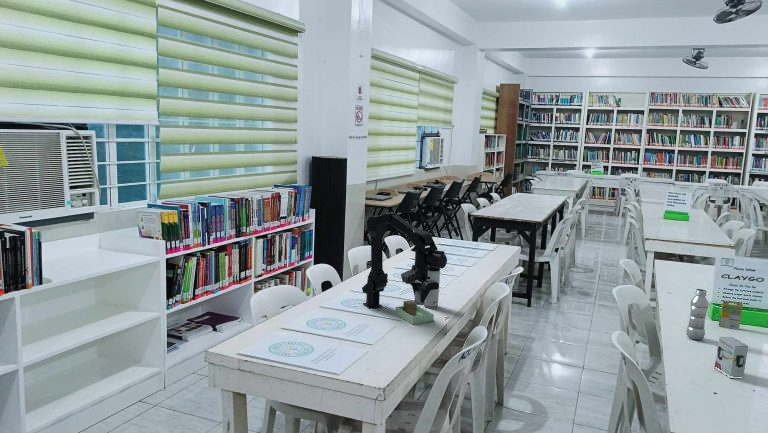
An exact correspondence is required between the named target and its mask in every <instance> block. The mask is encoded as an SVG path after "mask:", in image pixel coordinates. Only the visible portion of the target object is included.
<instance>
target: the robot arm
mask: <svg viewBox="0 0 768 433" xmlns="http://www.w3.org/2000/svg"><path fill="white" fill-rule="evenodd" d="M389 224H390V225H391V226H393V227H394V228H395V229H397V230H399V231H400V232H401V233H402V234H404V235H406V236H407V237H408V238H409V241H410V243H411V244H413V245H414V246H413V247H412V248H411V249H410V251H411V252H414V264H412V266H411V268H410V269H408V270H407V271H404V272H402V273H400V277H401V281H402V283H405V284H406V285H410V286H411V289H412V291H413V296H414V297H415V291H416V290H420V295H421V303H423V302H424V301H425V299H426V297H427V296H428V294H429V292H430V291H431V290H436V289H439V290H440V282H439V283H438V282H436V281H434V280H428V279H430V277H429V276H428V270H429V269H431V267H430V266H433V267H437V268H440V270H441V269H442V270H443V269H444V268H446V266H447V263H448V257H447V255H446V254H445V251H444V250H439V249H438V247H437V245H436V243H435V241H434V239H433V235H432V233H430V232H428V231H426V230H425V229H421V228H418V227H415V226H414V225H413V224H411V223H410V222H408V221H407V220H406V219H404V218H402V217H401V216H400V215H399V214H397V212H394V211H393V212H392V211H391V212H386V213H385V214H384V213H383V214H382V215H381V214H380V215H374V216H373V215H372V216H369V217H368V218H367V219H366V229H367V232H368V234H369V236H370V263H371V264H370V265H371V266H370V271H369V273H368V275H367V279H366V280H367V281H366V283H365V284H364V285H363V286H362V287H361V290H362V293H364V294H365V296H366V297H365V302H362V305H363V306H365V307H367V308H368V309H375V308H382V307H383V305H382V304H381V303H380V296H381V294H380V293H381V292H384V290H385V288H386V287H387V284H388V283H389V281H388V275H389V274H388V272H387V273H385V271H384V268H383V267H384V266H383V263H384V261H383V257H384V256H383V255H384V254H383V253H384V252H383V236H384V234H385V232H386V229H387V225H389ZM427 280H428V281H427Z"/></svg>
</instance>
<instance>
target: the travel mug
mask: <svg viewBox="0 0 768 433" xmlns="http://www.w3.org/2000/svg"><path fill="white" fill-rule="evenodd" d="M430 267H431V269H429V270H428V276H429V277H430V279H428V280H434V281H436V282H438V283H439V284H440V276H441V268H437V267H433V266H430ZM428 280H427V281H428ZM439 293H440V288H439V289H436V290H431V291H430V292H429V294H428V296H427V297H426V299H425V301H424V302H425V304H424V305H423V306H424V307H425V308H426V309H433V310H434V309H437V308H439V298H440V297H439V296H440V295H439ZM424 307H423V308H424Z"/></svg>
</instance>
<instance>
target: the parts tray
mask: <svg viewBox="0 0 768 433" xmlns="http://www.w3.org/2000/svg"><path fill="white" fill-rule="evenodd" d="M394 308H395V309H394V310H395V312H394V315H396V314H397V316H398V315H399V316H400V318H401V317H402V319H403V320H404V321H405V322H408V323H409V324H411V325H418V324H419V325H420V324H425V323H426V324H427V323H431V322H434V317H435V314H434V313H432V312H431V311H429V310H427V309H425V308H424V307H422V306H421V305H417V307H416V315H410V314H408V313H406V312H405V311H403V305H401V306H400V305H399V306H395V307H394ZM399 316H398V317H399Z"/></svg>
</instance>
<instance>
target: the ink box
mask: <svg viewBox="0 0 768 433" xmlns="http://www.w3.org/2000/svg"><path fill="white" fill-rule="evenodd" d="M716 349H717V350H716V356H715V361H714V367H717V368H719V369H720V370H722V371H723V372H725V373H726V374H728V375H729V376H733V377H743V378H744V374H745V369H746V365H747V364H746V362H747V357H748V352H749V345H748V344H746V343H745V342H742V341H741V340H739V339H738V338H736V337H734V336H719V337H718V343H717V348H716Z"/></svg>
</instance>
